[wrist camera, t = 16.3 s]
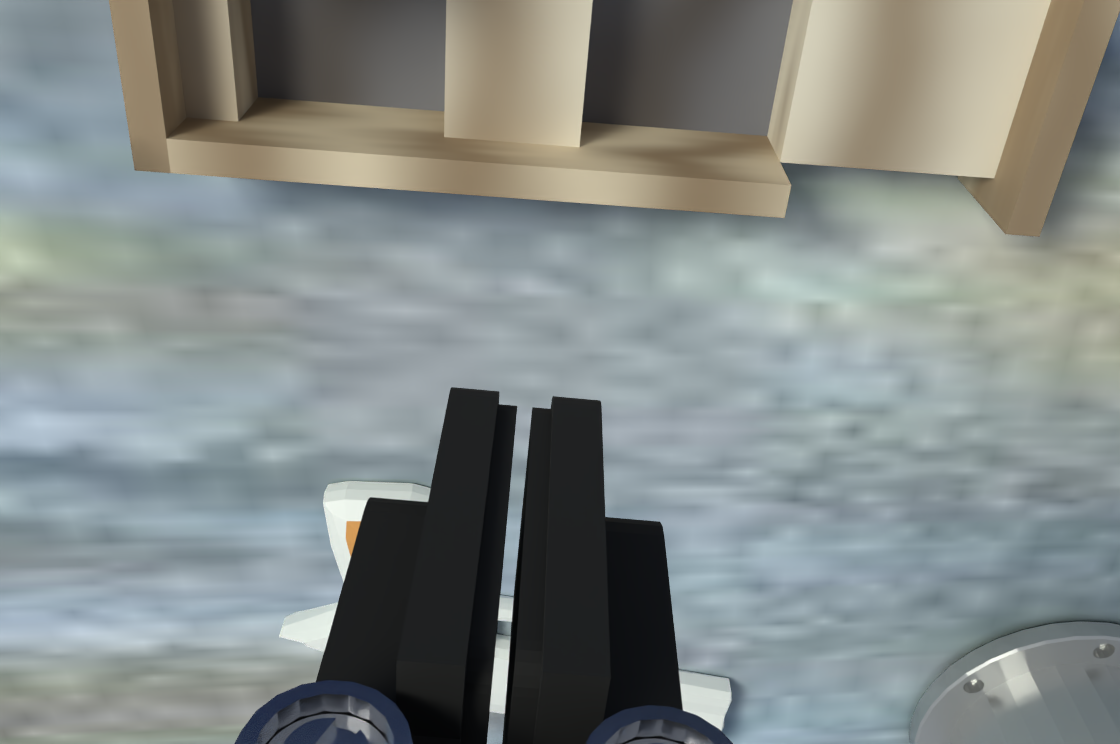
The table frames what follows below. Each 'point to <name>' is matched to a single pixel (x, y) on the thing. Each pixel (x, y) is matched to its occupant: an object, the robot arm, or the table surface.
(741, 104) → the tray
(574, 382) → the table surface
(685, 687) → the pistol
